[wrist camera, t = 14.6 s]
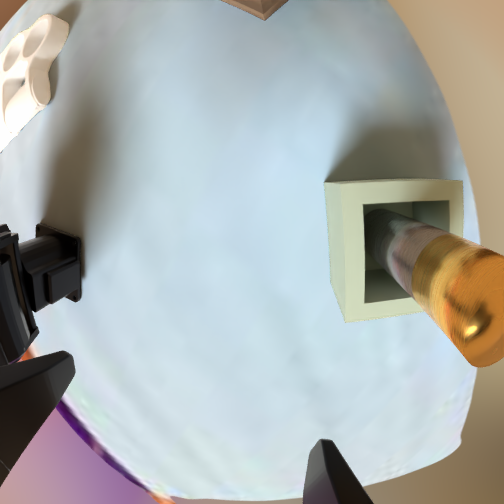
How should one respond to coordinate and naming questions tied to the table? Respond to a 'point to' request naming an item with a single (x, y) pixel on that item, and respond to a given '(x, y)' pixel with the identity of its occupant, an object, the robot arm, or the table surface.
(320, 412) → the table surface
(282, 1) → the brown square open box
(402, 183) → the cream square hollow block
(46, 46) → the knuckle duster
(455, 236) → the gold and grey cylinder
